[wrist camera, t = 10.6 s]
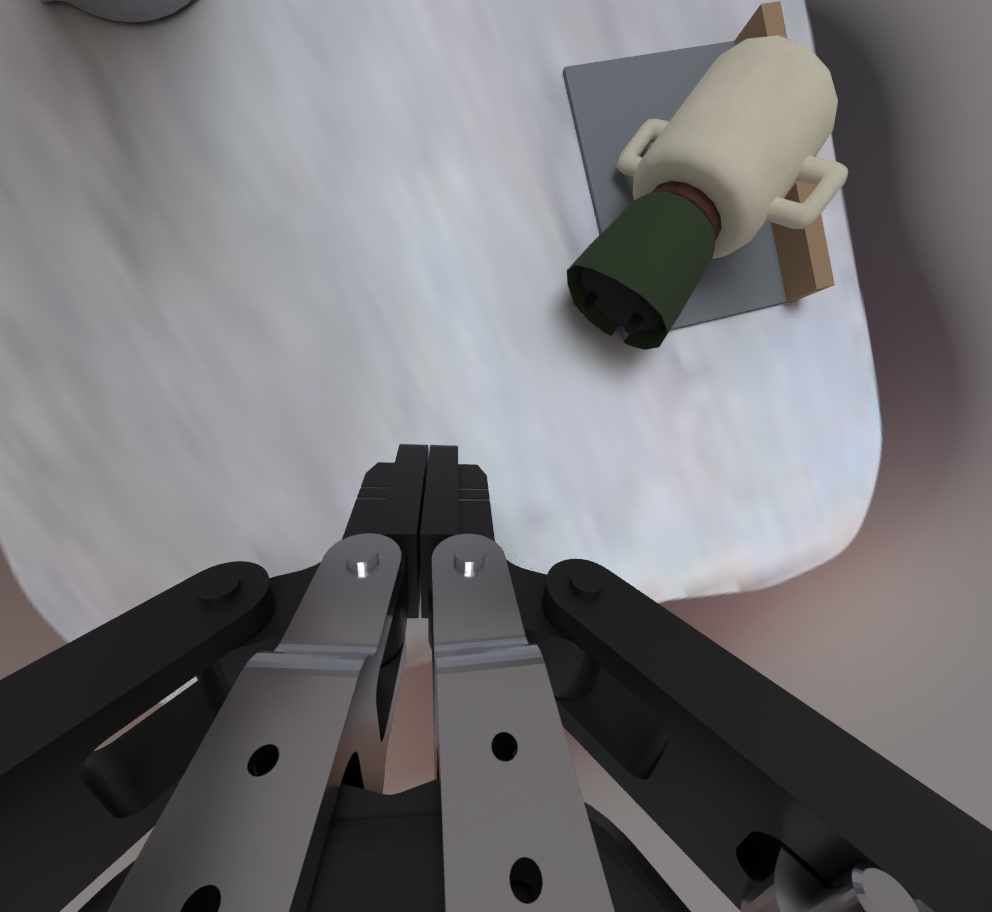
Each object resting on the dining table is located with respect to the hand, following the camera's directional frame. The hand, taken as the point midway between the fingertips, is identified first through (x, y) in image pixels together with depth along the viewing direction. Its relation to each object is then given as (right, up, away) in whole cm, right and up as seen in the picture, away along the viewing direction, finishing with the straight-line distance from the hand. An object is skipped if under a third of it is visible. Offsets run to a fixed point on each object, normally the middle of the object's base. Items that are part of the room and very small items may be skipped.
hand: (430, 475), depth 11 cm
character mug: (+7, +8, +11) cm, 15 cm away
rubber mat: (+13, +17, +14) cm, 25 cm away
